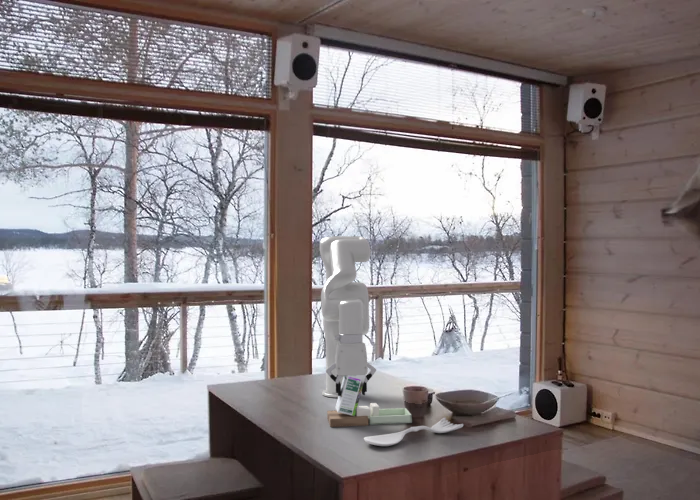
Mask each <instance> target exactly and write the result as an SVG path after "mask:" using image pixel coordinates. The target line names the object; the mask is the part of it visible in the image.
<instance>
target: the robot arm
mask: <svg viewBox="0 0 700 500" xmlns="http://www.w3.org/2000/svg"><path fill="white" fill-rule="evenodd" d="M319 254H320V258H321V260H322V263H323V265H324V269H325V277H326V279H325V283H324V285H323V286H322V289H321V292H320V302H321V303H320V306H321V307H320V308H321V315H322V317H323V320H322V321H323V322H322V323H323V331H324V339H325V388H324V389H322V390H321V395H322V396H324V397H328V398H337V399H338V396H341V385H342V381H343V377H344V376H348V375H365V374H366V376H365V380H364V384H363V387H362V391H361V396H365V395H366V393H367V392H368V388H367V387H368V382H369V380H370V379H371V378H373V375H374V374H375V373H376V372H377V368H376V367H374V366H373V365H372V364H371V363H369V362H368V356H367V355H368V354H367V353H368V352H367V346H366V343H364V342H363V338H364V337H363V336H365V335H367V334H368V333H369V330H370V307H369V305H370V304H369V303H370V302H369V301H370V300H369V291H368V287H367V285H366V283H364V282H361V281H355V280H356V278H357V268H356V263H366V262H367V263H368V261H369V260H370V258H371V246H370V242H369V241H368V240H367V239H366V238H365V237H364V236H358V235H357V236H352V235H349V236H348V235H347V236H346V235H345V236H341V235H339V236H337V235H336V236H333V235H331V236H327V237H324V238H322V239H320V241H319ZM368 369H369V370H370V371H369V373H368Z"/></svg>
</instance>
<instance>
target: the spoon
mask: <svg viewBox="0 0 700 500" xmlns="http://www.w3.org/2000/svg"><path fill="white" fill-rule="evenodd" d="M463 427H464V423H460V424H457V423H456V424H454V423H451V421H449V420H448V419H447V417H443V418H441V419H440V420H439V421H438V422H436V423H435V424H433V425H432V426H431V427H429V426H426V425H418V426H410V427H409V428H406V429H403V430H401V431H398V432H392V433H384V434H379V435H369V436H365V437H363V440H364V442H365V443H366V444H369V445H372V446H373V445H374V446H378V447H389V446H394V445H397V444H398V443H400V442H402V440H403V438H404V437H405V435H406V434H409V433H411V432H418V431H421V430H426V431H429V432H432V433H435V434H446V433H449V432H452V431H455V430H460V429H462V428H463Z"/></svg>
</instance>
